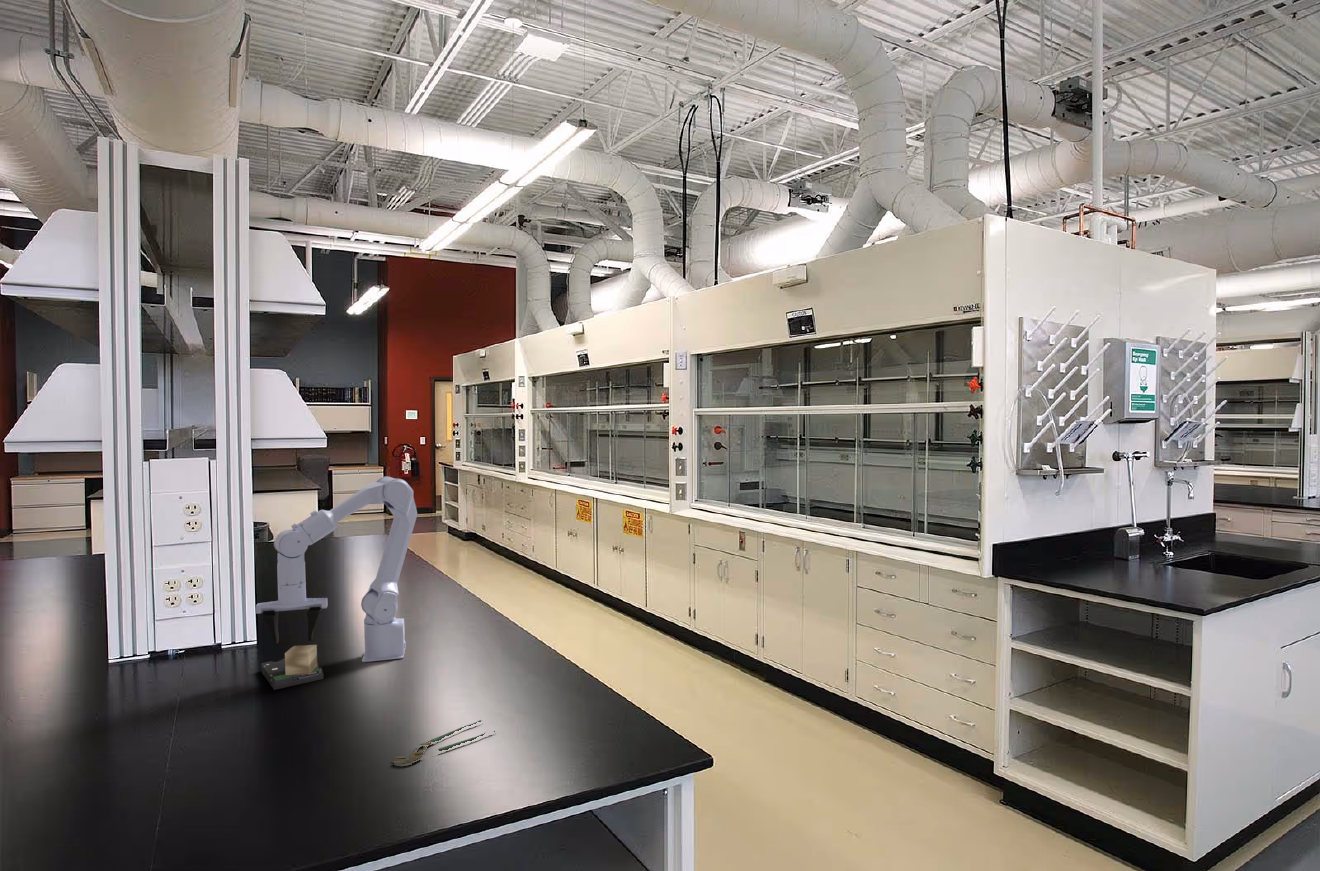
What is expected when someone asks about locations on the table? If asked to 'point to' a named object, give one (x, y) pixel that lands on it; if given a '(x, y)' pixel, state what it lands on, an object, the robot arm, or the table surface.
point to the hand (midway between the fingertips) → (293, 641)
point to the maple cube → (301, 660)
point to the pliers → (418, 755)
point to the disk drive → (279, 678)
